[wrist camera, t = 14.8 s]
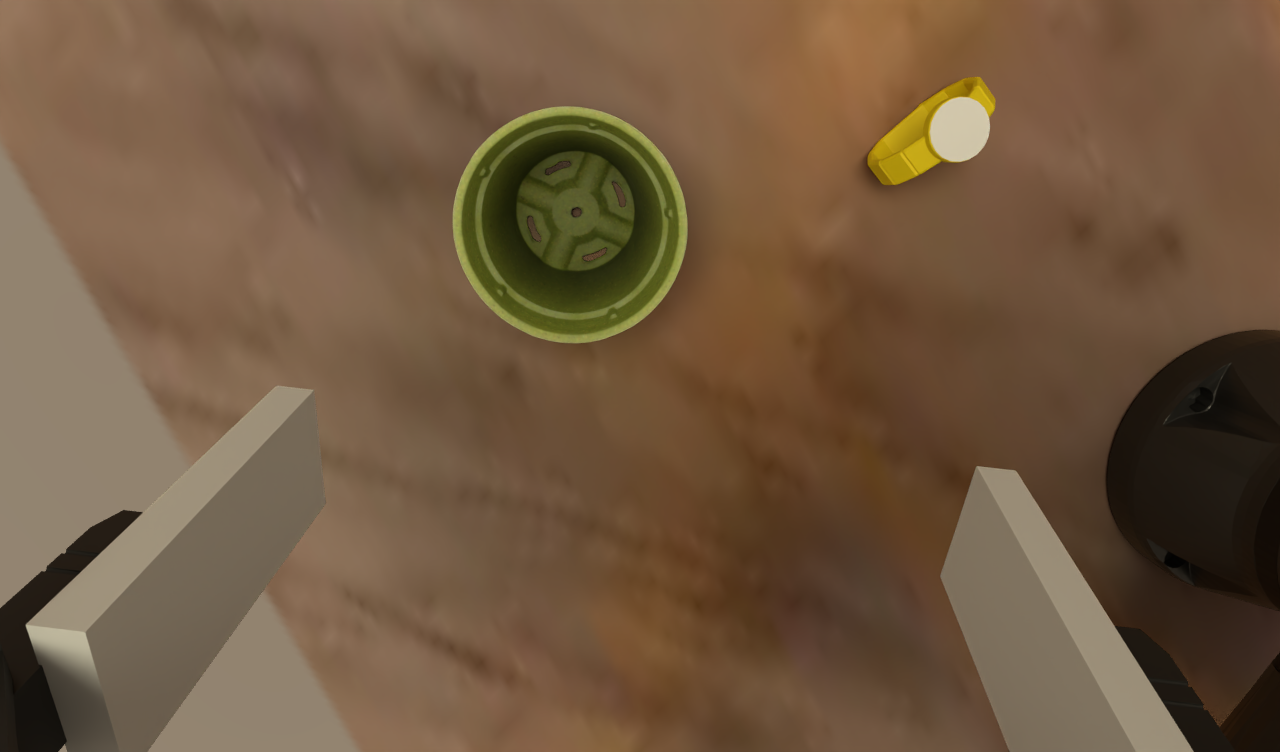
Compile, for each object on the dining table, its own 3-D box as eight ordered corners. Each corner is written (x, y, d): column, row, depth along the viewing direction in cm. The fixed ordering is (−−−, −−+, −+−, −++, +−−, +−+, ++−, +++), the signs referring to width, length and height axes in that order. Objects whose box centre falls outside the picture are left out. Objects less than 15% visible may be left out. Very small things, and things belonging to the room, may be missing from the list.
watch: (933, 72, 40) (999, 52, 34) (965, 116, 41) (1034, 104, 35) (842, 154, 41) (892, 149, 35) (875, 196, 41) (928, 198, 36)
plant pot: (531, 332, 42) (518, 379, 34) (447, 163, 40) (410, 167, 31) (695, 259, 42) (722, 287, 33) (620, 82, 39) (630, 65, 31)
